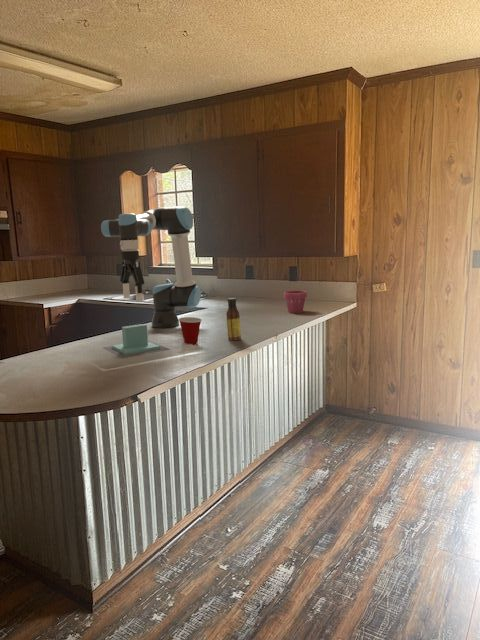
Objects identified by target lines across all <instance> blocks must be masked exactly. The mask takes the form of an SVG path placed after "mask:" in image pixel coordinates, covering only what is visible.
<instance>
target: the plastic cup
mask: <svg viewBox="0 0 480 640" xmlns="http://www.w3.org/2000/svg"><path fill="white" fill-rule="evenodd" d="M178 320H179V326H180V329H181V333H182V337H183V343H184V344H187V345H193V346H194V345H198V340H199V334H200V327H201V323H202V321H203V319H202V318H200V317H192V316H188V317H187V316H184V317H180V318H179V317H178Z"/></svg>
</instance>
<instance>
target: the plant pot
mask: <svg viewBox="0 0 480 640" xmlns="http://www.w3.org/2000/svg"><path fill="white" fill-rule="evenodd" d="M283 298H284V300H285V303H286V304H285V305H286V308H287V312H288V313H290V314H291V313H292V314H299V313H300V314H301V313H303V312H304V307H305V302H306V301H305V300H306V298H307V291H306V290H287V291H284V292H283Z"/></svg>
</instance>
